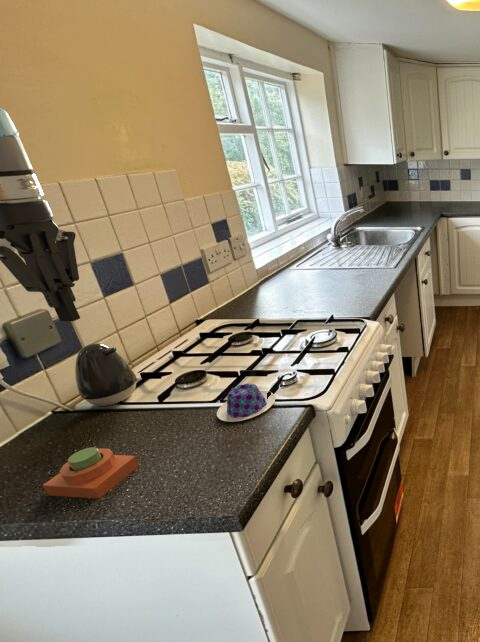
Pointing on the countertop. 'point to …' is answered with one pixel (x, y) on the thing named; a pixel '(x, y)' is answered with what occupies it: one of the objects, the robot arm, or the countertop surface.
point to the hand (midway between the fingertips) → (70, 319)
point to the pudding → (245, 403)
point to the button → (84, 458)
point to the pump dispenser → (103, 375)
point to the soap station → (92, 476)
